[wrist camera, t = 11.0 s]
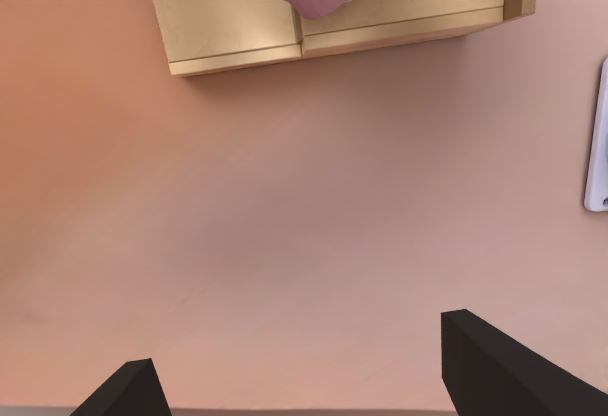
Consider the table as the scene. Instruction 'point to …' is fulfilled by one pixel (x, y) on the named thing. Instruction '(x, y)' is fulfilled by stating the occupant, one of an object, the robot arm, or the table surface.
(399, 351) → the table surface
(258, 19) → the step shelf
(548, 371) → the robot arm
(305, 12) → the video game controller
